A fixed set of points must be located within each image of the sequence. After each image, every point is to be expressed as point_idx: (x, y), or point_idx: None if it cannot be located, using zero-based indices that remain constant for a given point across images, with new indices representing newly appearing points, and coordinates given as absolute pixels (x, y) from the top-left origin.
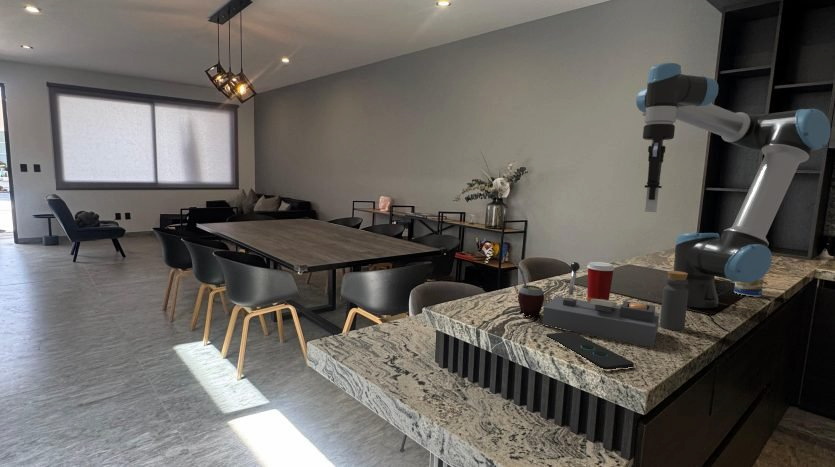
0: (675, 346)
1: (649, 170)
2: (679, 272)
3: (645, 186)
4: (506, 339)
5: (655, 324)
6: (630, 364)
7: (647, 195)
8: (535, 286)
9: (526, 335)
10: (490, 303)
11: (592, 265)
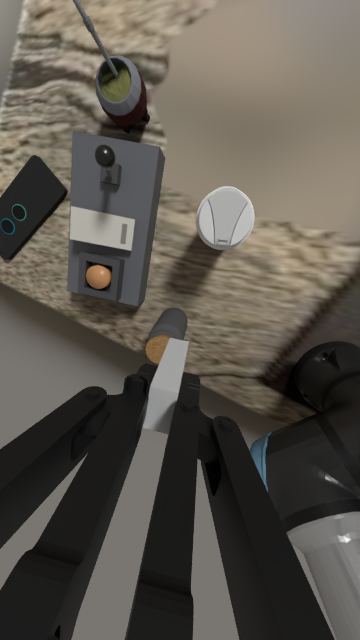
0: (99, 310)
1: (7, 450)
2: (161, 354)
3: (128, 378)
4: (3, 100)
5: (77, 292)
6: (2, 256)
7: (158, 369)
8: (130, 87)
9: (34, 126)
10: (174, 4)
11: (206, 199)
